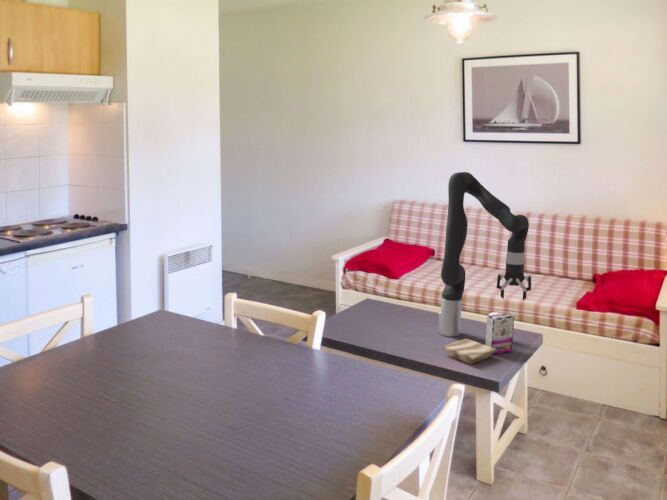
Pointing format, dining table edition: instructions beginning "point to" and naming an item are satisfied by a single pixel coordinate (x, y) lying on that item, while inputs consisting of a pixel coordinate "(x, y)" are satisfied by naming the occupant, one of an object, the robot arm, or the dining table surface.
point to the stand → (469, 350)
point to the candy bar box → (500, 332)
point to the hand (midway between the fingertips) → (513, 299)
